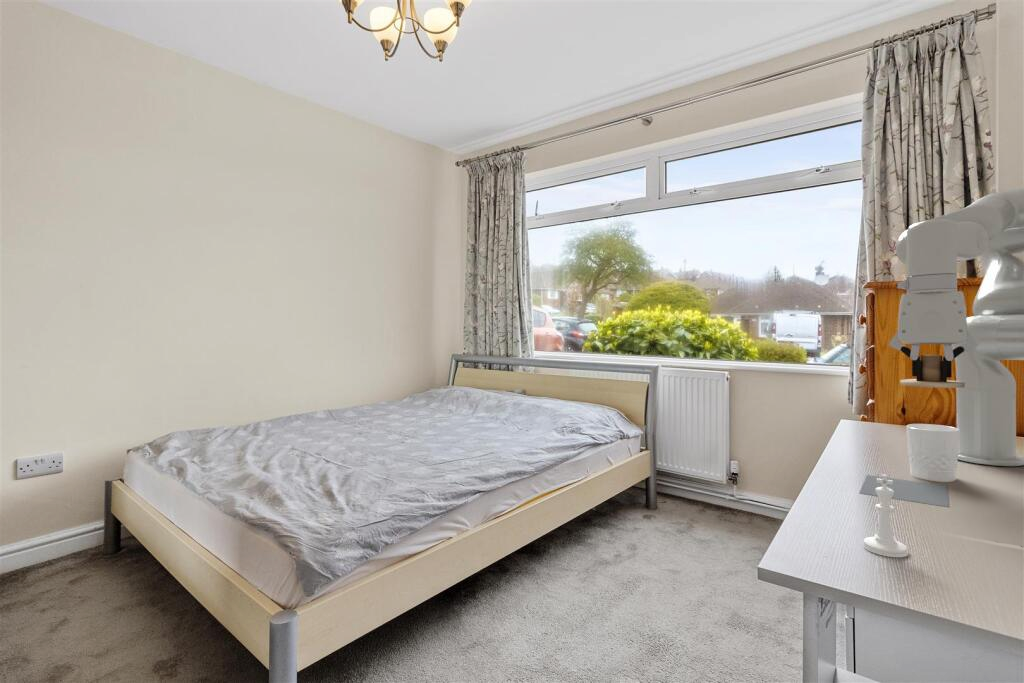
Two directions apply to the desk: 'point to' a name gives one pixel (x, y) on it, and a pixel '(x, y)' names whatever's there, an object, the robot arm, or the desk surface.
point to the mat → (909, 491)
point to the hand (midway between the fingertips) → (931, 379)
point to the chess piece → (885, 526)
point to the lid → (932, 374)
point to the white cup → (933, 451)
